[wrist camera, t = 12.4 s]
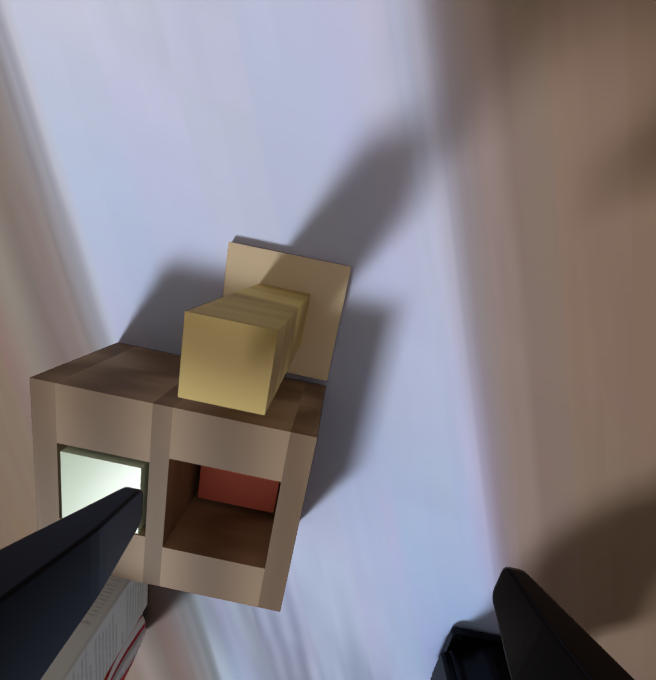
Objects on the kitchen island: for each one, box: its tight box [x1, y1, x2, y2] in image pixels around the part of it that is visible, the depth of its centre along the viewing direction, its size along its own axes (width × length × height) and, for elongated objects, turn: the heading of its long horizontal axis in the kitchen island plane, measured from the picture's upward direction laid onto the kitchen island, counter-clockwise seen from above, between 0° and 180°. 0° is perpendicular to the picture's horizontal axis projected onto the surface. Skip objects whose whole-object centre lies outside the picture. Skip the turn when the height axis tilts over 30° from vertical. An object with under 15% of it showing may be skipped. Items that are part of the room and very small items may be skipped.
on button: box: [60, 446, 149, 533], centre depth 18 cm, size 4×4×3 cm
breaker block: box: [30, 343, 326, 612], centre depth 20 cm, size 14×11×6 cm
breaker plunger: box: [198, 465, 281, 513], centre depth 21 cm, size 5×5×2 cm
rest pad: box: [223, 242, 351, 381], centre depth 20 cm, size 7×7×1 cm
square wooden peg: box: [178, 283, 310, 415], centre depth 15 cm, size 3×3×9 cm
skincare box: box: [41, 576, 148, 680], centre depth 20 cm, size 6×4×12 cm
